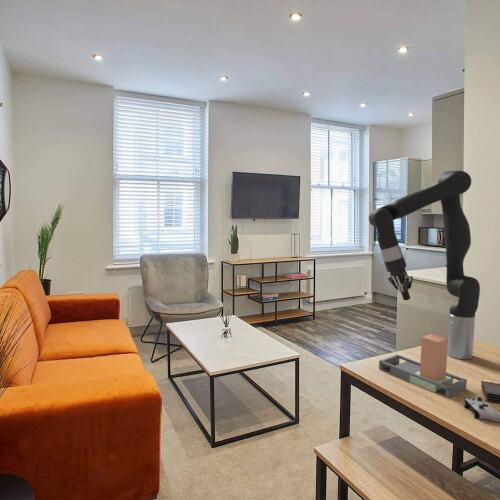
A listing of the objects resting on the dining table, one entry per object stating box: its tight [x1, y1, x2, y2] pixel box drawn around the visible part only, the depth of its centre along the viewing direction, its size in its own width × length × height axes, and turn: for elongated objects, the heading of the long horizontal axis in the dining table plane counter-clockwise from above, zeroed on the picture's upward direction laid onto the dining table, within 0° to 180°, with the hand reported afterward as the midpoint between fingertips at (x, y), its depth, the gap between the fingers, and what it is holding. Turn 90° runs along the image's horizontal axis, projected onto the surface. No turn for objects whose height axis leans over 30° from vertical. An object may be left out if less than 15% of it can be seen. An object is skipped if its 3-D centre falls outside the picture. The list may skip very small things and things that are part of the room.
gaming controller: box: [463, 396, 500, 424], centre depth 119 cm, size 11×6×7 cm
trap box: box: [378, 354, 468, 399], centre depth 142 cm, size 11×27×3 cm, turn 34°
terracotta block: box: [419, 333, 448, 382], centre depth 137 cm, size 6×6×14 cm
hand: (407, 299), depth 156 cm, fingers closed
